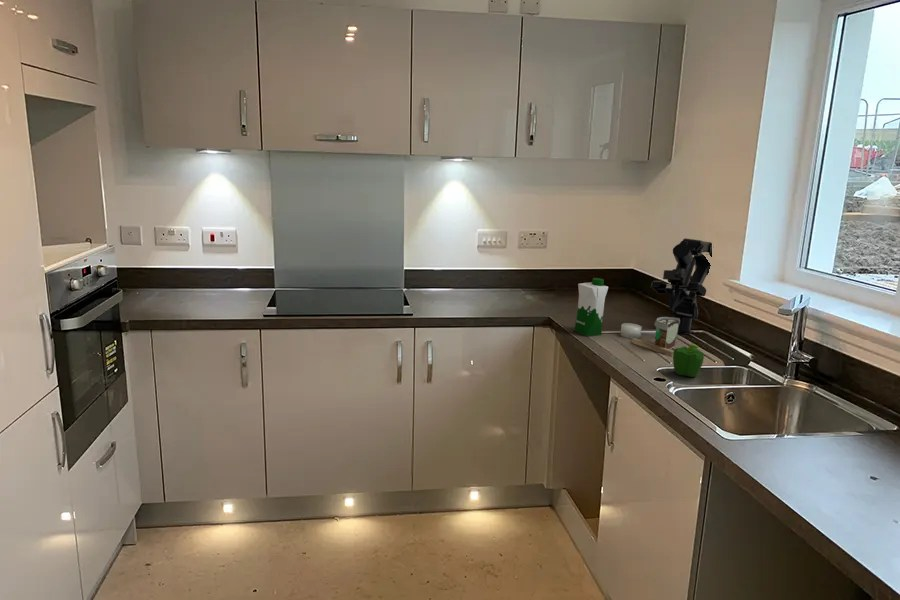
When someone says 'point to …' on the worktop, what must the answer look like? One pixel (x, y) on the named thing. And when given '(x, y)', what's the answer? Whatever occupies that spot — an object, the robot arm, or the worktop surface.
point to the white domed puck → (630, 330)
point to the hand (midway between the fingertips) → (671, 309)
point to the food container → (666, 331)
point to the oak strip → (652, 347)
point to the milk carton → (590, 307)
